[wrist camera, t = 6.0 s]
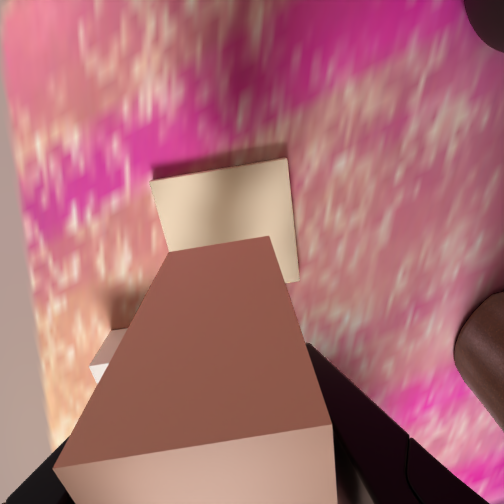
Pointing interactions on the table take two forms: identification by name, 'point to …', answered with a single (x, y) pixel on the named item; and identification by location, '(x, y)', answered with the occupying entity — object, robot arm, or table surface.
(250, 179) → the pad
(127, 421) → the plug
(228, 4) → the table surface
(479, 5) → the cola bottle
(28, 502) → the robot arm
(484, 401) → the plant pot
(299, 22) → the table surface
